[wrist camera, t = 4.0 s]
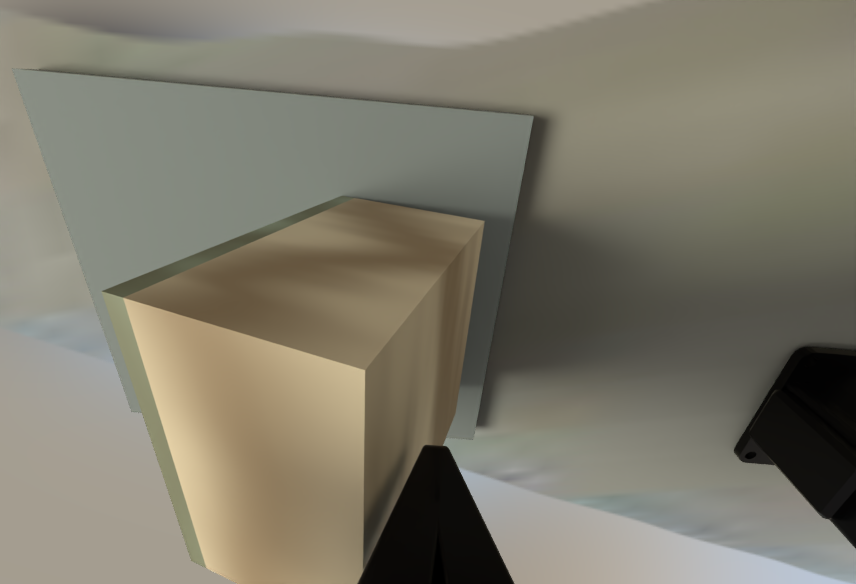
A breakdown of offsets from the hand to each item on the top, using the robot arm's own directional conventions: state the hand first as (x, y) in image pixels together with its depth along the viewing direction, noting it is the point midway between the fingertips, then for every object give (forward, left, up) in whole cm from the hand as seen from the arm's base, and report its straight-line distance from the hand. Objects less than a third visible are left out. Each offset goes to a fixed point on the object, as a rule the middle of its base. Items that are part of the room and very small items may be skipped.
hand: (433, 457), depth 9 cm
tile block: (+1, 0, -6) cm, 7 cm away
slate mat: (+6, 0, -8) cm, 10 cm away
